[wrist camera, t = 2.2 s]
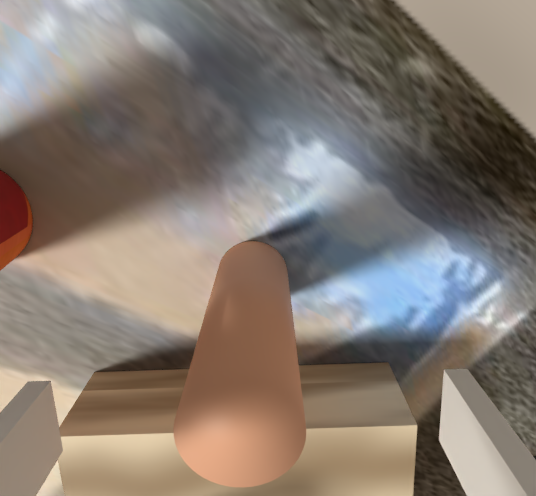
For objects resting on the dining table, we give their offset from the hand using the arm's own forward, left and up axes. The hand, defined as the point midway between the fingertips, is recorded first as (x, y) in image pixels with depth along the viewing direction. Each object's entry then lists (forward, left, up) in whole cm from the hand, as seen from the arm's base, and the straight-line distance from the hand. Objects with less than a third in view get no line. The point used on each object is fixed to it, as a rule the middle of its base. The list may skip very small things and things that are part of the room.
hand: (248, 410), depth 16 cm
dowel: (0, 0, -12) cm, 12 cm away
